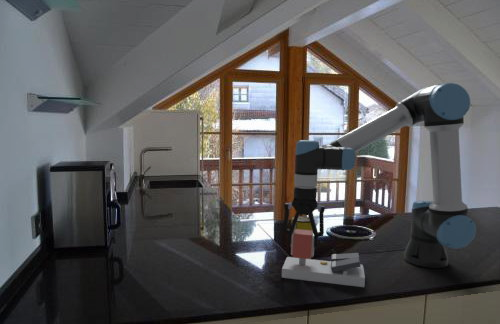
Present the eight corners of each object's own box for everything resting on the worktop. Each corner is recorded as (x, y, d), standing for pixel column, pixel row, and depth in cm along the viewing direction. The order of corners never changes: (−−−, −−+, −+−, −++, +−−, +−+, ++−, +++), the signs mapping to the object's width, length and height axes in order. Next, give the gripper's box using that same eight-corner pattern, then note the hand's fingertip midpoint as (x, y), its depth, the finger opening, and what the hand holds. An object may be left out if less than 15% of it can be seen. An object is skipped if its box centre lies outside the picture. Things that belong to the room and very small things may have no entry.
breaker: (359, 261, 123) (358, 256, 123) (360, 266, 119) (359, 261, 119) (332, 266, 126) (331, 261, 126) (332, 272, 121) (330, 266, 121)
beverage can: (299, 242, 163) (300, 215, 162) (316, 248, 156) (318, 219, 155) (285, 247, 157) (286, 218, 155) (303, 252, 150) (304, 222, 149)
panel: (362, 273, 130) (363, 250, 129) (364, 287, 118) (365, 262, 118) (286, 264, 136) (287, 243, 135) (281, 277, 124) (282, 253, 124)
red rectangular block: (311, 253, 130) (313, 230, 130) (310, 259, 125) (311, 235, 124) (294, 251, 132) (295, 229, 131) (292, 257, 126) (293, 233, 125)
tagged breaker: (358, 257, 129) (358, 252, 129) (359, 262, 124) (359, 257, 124) (332, 259, 131) (331, 254, 131) (331, 263, 127) (331, 258, 126)
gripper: (334, 187, 128) (331, 254, 130) (278, 183, 132) (276, 248, 134) (334, 190, 120) (330, 261, 122) (275, 186, 125) (272, 255, 127)
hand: (302, 254), depth 128 cm, fingers closed on red rectangular block, 6 cm apart
